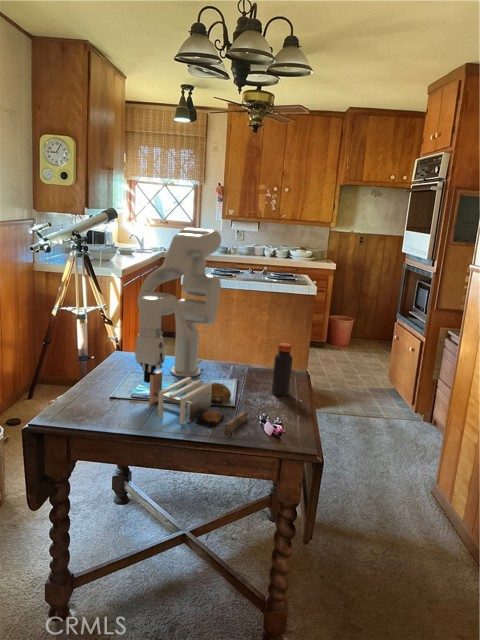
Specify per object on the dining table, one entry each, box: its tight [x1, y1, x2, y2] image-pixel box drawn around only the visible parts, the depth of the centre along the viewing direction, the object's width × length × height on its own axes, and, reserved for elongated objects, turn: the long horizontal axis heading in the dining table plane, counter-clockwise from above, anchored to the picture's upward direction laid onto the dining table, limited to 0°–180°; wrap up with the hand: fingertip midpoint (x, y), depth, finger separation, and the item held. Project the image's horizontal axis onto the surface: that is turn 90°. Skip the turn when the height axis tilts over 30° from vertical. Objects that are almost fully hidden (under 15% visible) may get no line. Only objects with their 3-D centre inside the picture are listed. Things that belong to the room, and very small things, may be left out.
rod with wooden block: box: [148, 370, 212, 423], centre depth 164 cm, size 13×20×11 cm, turn 62°
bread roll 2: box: [211, 382, 232, 406], centre depth 175 cm, size 10×10×8 cm
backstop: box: [223, 410, 248, 435], centre depth 155 cm, size 13×1×3 cm, turn 152°
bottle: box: [271, 342, 293, 398], centre depth 183 cm, size 7×7×20 cm
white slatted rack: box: [157, 377, 213, 425], centre depth 162 cm, size 17×10×9 cm, turn 152°
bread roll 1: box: [193, 408, 226, 430], centre depth 158 cm, size 11×8×4 cm
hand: (148, 381), depth 169 cm, fingers closed
